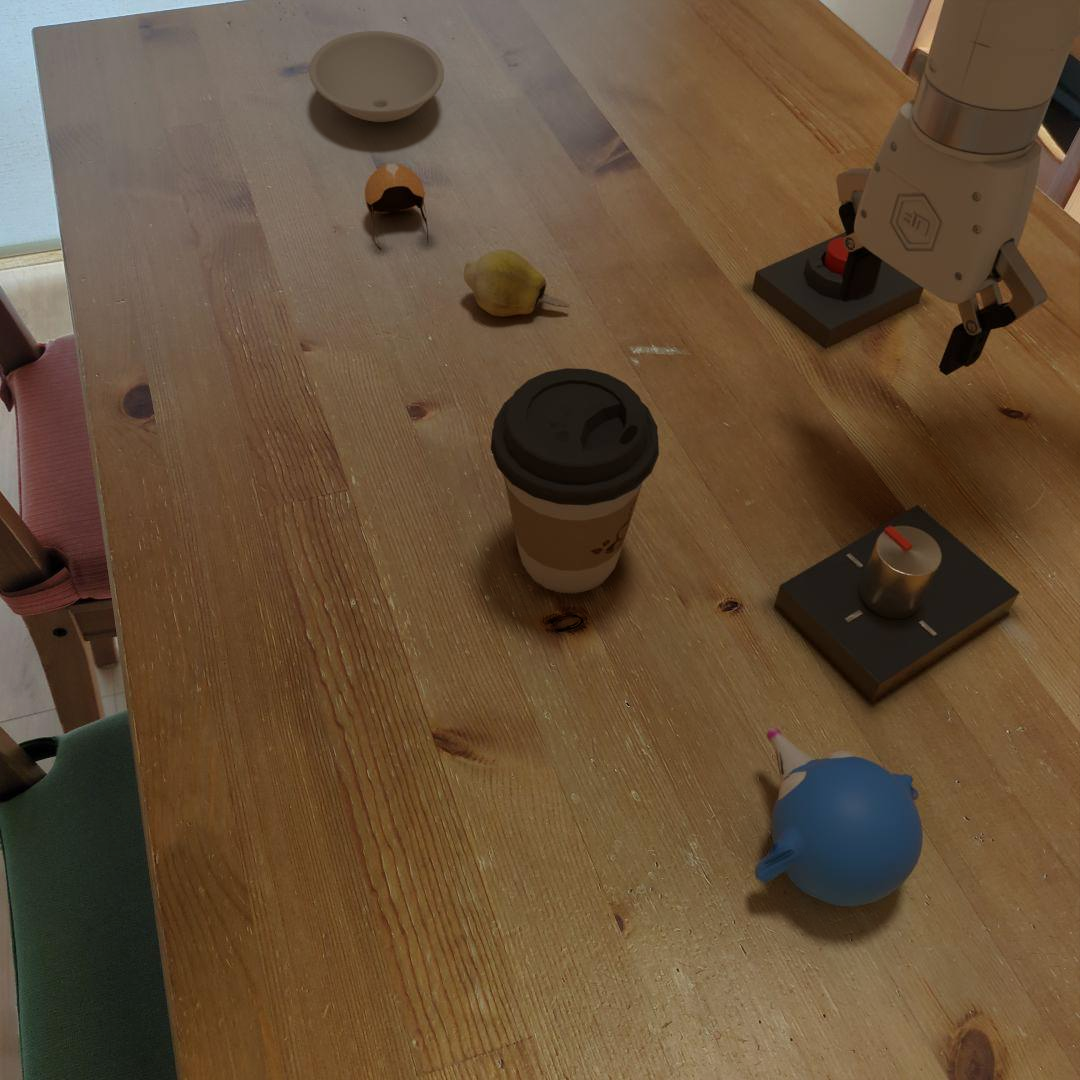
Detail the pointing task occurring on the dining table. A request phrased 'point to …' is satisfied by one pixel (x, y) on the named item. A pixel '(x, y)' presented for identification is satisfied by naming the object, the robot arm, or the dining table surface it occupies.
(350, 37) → the dish
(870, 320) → the button box
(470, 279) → the fruit
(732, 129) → the dining table surface
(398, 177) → the helmet
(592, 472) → the coffee cup
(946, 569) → the dial panel
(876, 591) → the dial knob
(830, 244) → the button
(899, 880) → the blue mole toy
